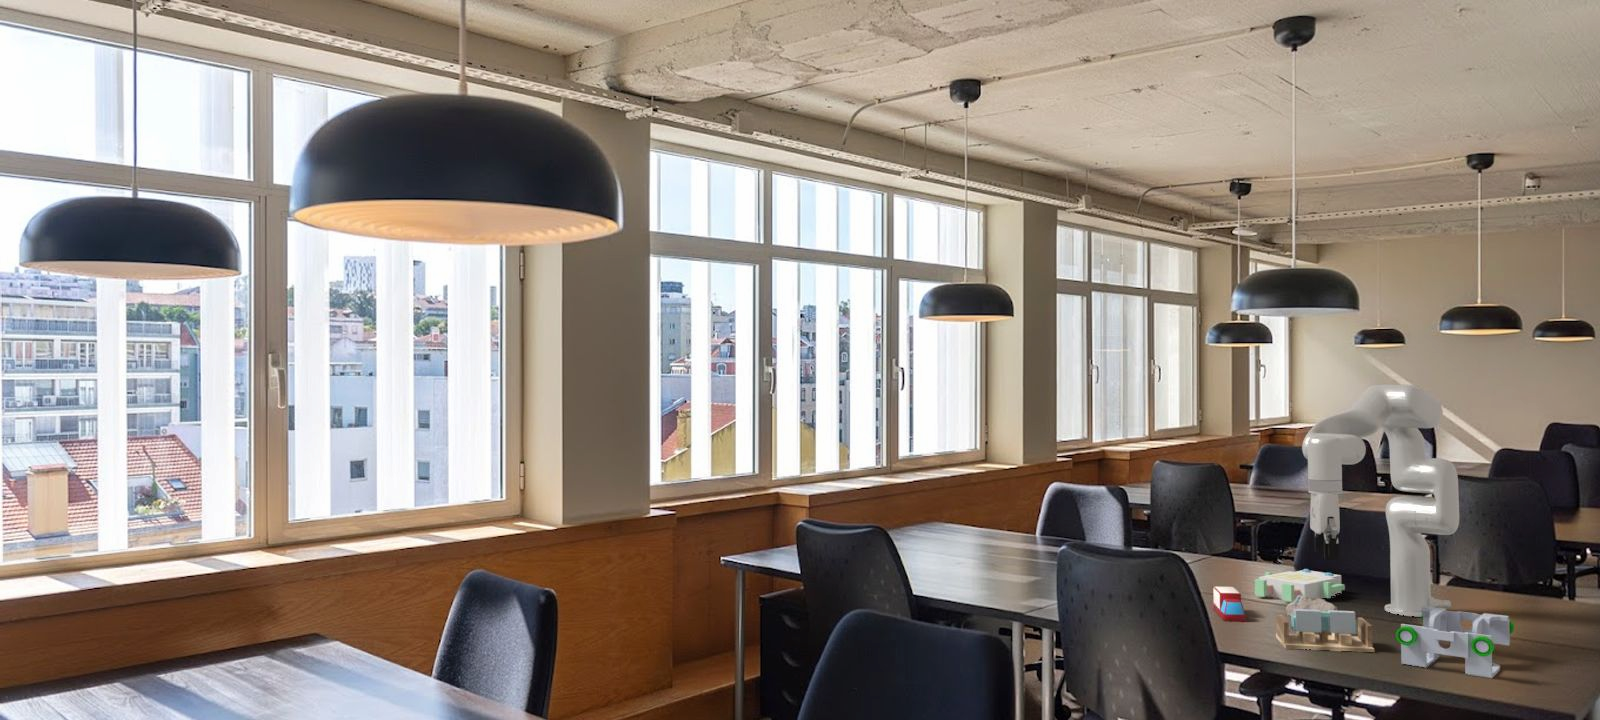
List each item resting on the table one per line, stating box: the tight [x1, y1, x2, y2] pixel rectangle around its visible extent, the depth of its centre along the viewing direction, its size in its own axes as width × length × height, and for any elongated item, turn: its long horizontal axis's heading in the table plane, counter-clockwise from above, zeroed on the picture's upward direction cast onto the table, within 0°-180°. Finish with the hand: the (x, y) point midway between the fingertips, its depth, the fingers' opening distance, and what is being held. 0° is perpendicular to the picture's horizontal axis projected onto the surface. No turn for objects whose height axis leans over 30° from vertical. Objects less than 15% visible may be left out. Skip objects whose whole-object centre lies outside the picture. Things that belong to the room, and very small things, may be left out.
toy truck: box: [1212, 586, 1247, 623], centre depth 299 cm, size 6×15×7 cm, turn 170°
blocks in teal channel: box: [1290, 609, 1358, 635], centre depth 266 cm, size 14×4×5 cm, turn 77°
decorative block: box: [1254, 568, 1346, 603], centre depth 324 cm, size 26×6×20 cm
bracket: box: [1395, 606, 1515, 679], centre depth 250 cm, size 19×25×10 cm
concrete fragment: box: [1285, 595, 1339, 617], centre depth 293 cm, size 7×14×6 cm, turn 20°
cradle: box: [1275, 614, 1375, 653], centre depth 266 cm, size 19×12×6 cm, turn 77°
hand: (1326, 556), depth 270 cm, fingers open, 9 cm apart
